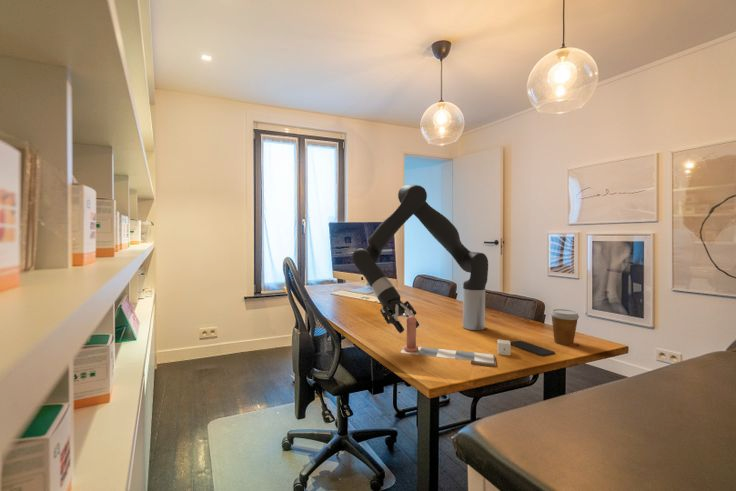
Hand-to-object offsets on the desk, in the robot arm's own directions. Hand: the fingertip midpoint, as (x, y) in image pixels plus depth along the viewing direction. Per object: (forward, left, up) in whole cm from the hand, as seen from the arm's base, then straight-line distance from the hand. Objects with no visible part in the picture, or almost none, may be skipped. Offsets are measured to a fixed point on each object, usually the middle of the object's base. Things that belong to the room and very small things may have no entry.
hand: (410, 329), depth 120 cm
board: (0, +13, -8) cm, 15 cm away
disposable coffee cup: (-29, +54, -8) cm, 62 cm away
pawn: (0, +1, -7) cm, 7 cm away
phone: (-18, +41, -9) cm, 45 cm away
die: (-10, +31, -8) cm, 34 cm away
